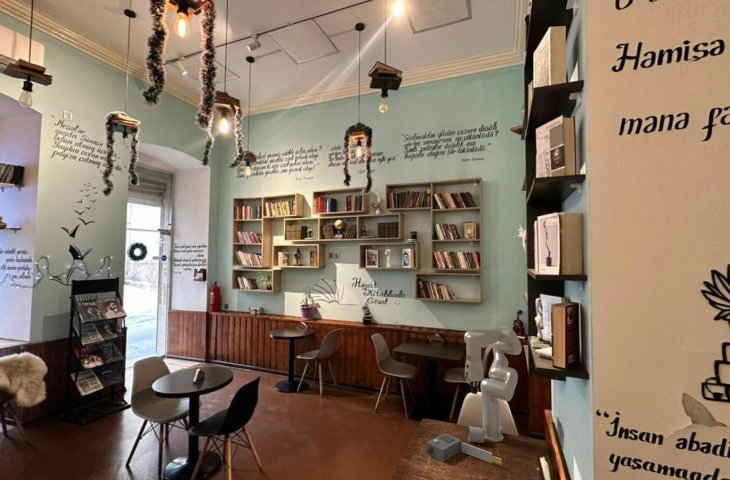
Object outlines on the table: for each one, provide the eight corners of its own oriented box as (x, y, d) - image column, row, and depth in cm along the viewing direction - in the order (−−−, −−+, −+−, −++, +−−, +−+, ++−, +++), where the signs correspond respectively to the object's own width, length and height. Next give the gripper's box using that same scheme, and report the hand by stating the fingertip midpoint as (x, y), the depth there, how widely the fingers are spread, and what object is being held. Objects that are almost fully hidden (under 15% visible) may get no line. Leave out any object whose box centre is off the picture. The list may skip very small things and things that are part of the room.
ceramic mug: (485, 445, 178) (485, 430, 179) (469, 444, 179) (469, 429, 180) (481, 436, 189) (481, 422, 190) (466, 435, 190) (466, 421, 191)
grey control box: (445, 443, 179) (445, 431, 180) (461, 451, 172) (461, 438, 172) (425, 453, 168) (425, 440, 169) (442, 462, 161) (442, 448, 162)
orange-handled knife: (460, 451, 171) (460, 442, 171) (461, 450, 172) (461, 441, 172) (501, 467, 158) (501, 457, 158) (501, 466, 159) (501, 456, 159)
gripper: (469, 361, 171) (469, 398, 169) (488, 358, 178) (489, 393, 176) (458, 357, 177) (458, 393, 175) (477, 354, 185) (477, 388, 183)
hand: (473, 393), depth 176 cm, fingers closed
